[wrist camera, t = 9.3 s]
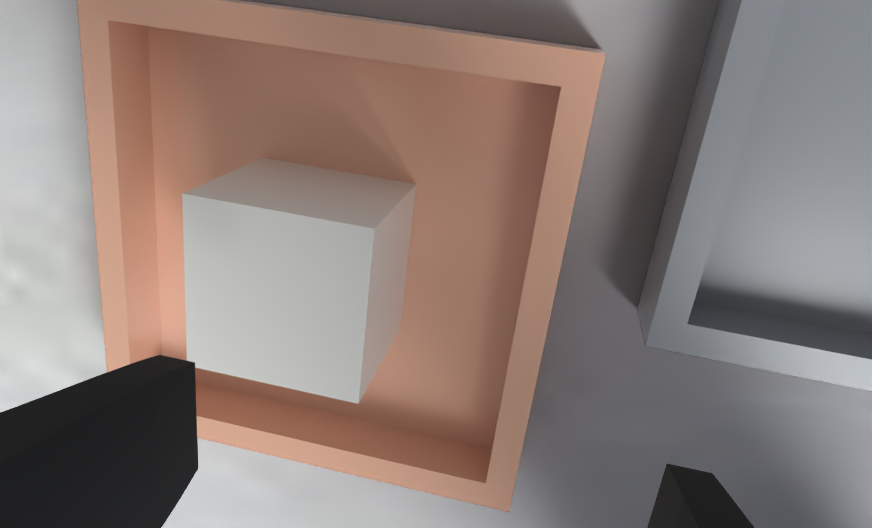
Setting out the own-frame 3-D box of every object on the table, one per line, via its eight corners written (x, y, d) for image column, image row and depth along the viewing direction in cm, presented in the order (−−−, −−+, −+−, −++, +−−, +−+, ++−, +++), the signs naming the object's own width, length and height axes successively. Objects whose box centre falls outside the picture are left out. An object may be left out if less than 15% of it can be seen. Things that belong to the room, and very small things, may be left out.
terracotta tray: (515, 463, 21) (509, 512, 18) (152, 380, 22) (110, 416, 20) (601, 49, 16) (606, 54, 14) (132, -16, 18) (75, -20, 15)
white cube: (400, 329, 19) (358, 403, 15) (259, 300, 20) (186, 365, 16) (416, 184, 17) (374, 228, 14) (262, 157, 18) (182, 193, 14)
